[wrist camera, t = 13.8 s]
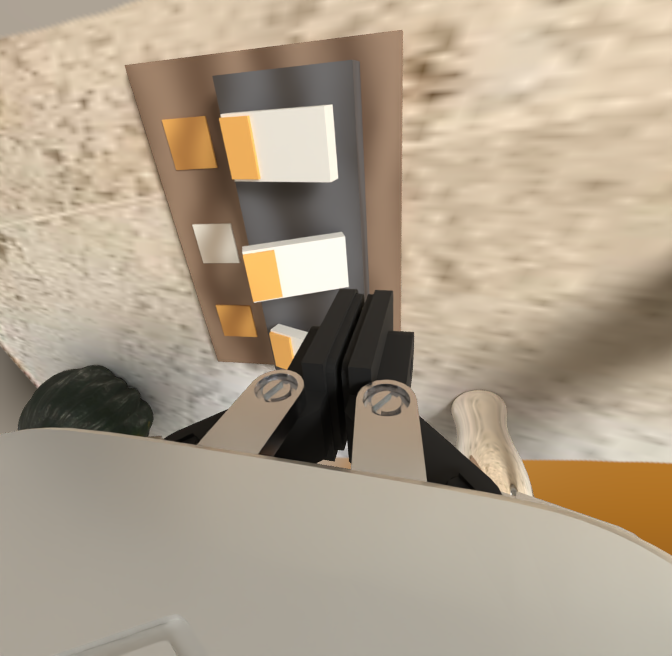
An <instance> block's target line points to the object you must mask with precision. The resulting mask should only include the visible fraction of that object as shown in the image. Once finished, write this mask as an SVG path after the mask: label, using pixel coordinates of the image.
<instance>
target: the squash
mask: <svg viewBox="0 0 672 656" xmlns="http://www.w3.org/2000/svg"><path fill="white" fill-rule="evenodd" d="M152 422H153V412H152V410H151V408H150V406H149V405H148V403H146V402H145V401H143V400H140V394H139V392H138V390H137V389H135V388H127V383H126V382H125V381H124V380H122V379H120V378H116V377H115V376H114V374H113V373H112V372H111V371H110V370H108V369H107V368H105V367H103V366H95V365H92V366H87V367H85V368H82V369H73V370H67V371H63V372H61V373H58V374H56V375H54V376H52V377H51V378H49V379H48V380H47V381H45V382H44V383H43V384H42V385H40V387H39V388H38V389H37V390H36V391H35V393H34V394H33V396H32V398H31V399H30V400H29V402H28V403H27V404H26V406H25V407H24V409H23V411H22V413H21V416H20V419H19V424H18V431H19V430H25V429H37V428H76V429H85V430H94V431H103V432H112V433H119V434H126V435H133V436H140V437H148V435H149V429H150V428H151V425H152Z"/></svg>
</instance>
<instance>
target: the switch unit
mask: <svg viewBox="0 0 672 656" xmlns="http://www.w3.org/2000/svg"><path fill="white" fill-rule="evenodd" d="M125 68H126V71H127V75H128V78H129V81H130V84H131V87H132V90H133V94H134V97H135V100H136V103H137V106H138V109H139V113H140V116H141V119H142V122H143V125H144V128H145V131H146V135H147V138H148V141H149V144H150V147H151V150H152V154H153V157H154V160H155V163H156V166H157V169H158V173H159V176H160V179H161V182H162V185H163V188H164V192H165V195H166V198H167V201H168V204H169V207H170V211H171V214H172V217H173V220H174V223H175V226H176V229H177V233H178V236H179V239H180V242H181V245H182V248H183V252H184V255H185V258H186V261H187V264H188V267H189V271H190V274H191V277H192V280H193V283H194V286H195V290H196V293H197V296H198V299H199V302H200V305H201V309H202V312H203V315H204V318H205V321H206V324H207V328H208V331H209V334H210V337H211V340H212V343H213V346H214V350H215V353H216V356H217V359H218V361H220V362H239V363H257V364H275V368H276V370H286V369H283V368H280V367H277V366H276V363H275V358H274V354H273V349H272V344H271V340H270V335H269V333H270V332H271V329H272V328H273V327H275V326H276V325H277V324H281V325H285V326H288V327H292V328H295V329H298V330H302V331H305V332H308V331H309V330H310V328H311V327H312V326H320V325H321V324H322V322H323V320H324V318H325V316H326V314H327V312H328V310H329V308H330V306H331V304H332V303H333V301H334V299H335V297H336V295H337V293H338V291H339V289H340V288H339V289H333V290H327V291H321V292H315V293H309V294H303V295H297V296H291V297H285V298H279V299H273V300H267V301H261V302H255V303H254V302H253V298H252V294H251V289H250V285H249V281H248V276H247V272H246V268H245V263H244V259H243V253H242V247H243V246H250V245H256V244H263V243H270V242H276V241H283V240H290V239H297V238H303V237H310V236H317V235H324V234H330V233H337V232H342V233H343V234H344V236H345V242H346V256H347V269H348V283H349V287H345V288H341V289H357V290H358V293H359V294H364V299H365V301H366V299H367V296H368V294H374V291H375V290H392V291H393V331H401V211H402V72H403V31H402V30H397V31H390V32H382V33H374V34H366V35H358V36H350V37H343V38H335V39H327V40H319V41H311V42H303V43H296V44H288V45H280V46H272V47H264V48H256V49H249V50H241V51H233V52H225V53H217V54H209V55H202V56H194V57H186V58H178V59H170V60H162V61H155V62H147V63H139V64H131V65H125ZM332 104H333V117H334V130H335V143H336V156H337V169H338V179H336V180H334V181H332V182H252V181H235V179H232V176H231V171H230V167H229V162H228V158H227V153H226V149H225V144H224V140H223V135H222V131H221V126H220V121H219V118H221V115H220V114H225V113H232V112H245V111H257V110H270V109H282V108H295V107H307V106H320V105H332Z"/></svg>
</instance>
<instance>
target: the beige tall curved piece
mask: <svg viewBox="0 0 672 656" xmlns="http://www.w3.org/2000/svg"><path fill="white" fill-rule="evenodd" d="M451 414H452V417H453V420H454V423H455V426H456V431H457V440H456V449H458V450H459V451H460V452H461V453H462V454H463V455H464V456H466V457H467V458H468V459H469V460H470V461H471V462H473V463H474V464H475V465H476V466H477V467H478V468H479V469H481V470H482V471H483V472H484V473H485V474H486V475H487V476H489V477H490V478H491V479H492V480H493V482H494V483H495V484H496V485H497V486H498V487H499V489H500V491H502V492H504V493H507V494H510V495H513V496H516V493H517V492H520V493H523V494H526V495H529V496H532V497H534V495H533V490H532V487H531V483H530V480H529V477H528V474H527V472H526V469H525V467H524V464H523V462H522V460H521V458H520V456H519V454H518V452H517V450H516V448H515V446H514V444H513V442H512V439H511V437H510V435H509V432H508V429H507V408H506V405H505V402H504V401H503V400H502V398H501V397H499V396H498V395H497V394H495V393H492V392H490V391H485V390H472V391H468V392H465V393H463V394H461V395H459V396H458V397H457V398H456V399H455V400H454V401H453V403H452V406H451Z"/></svg>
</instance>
